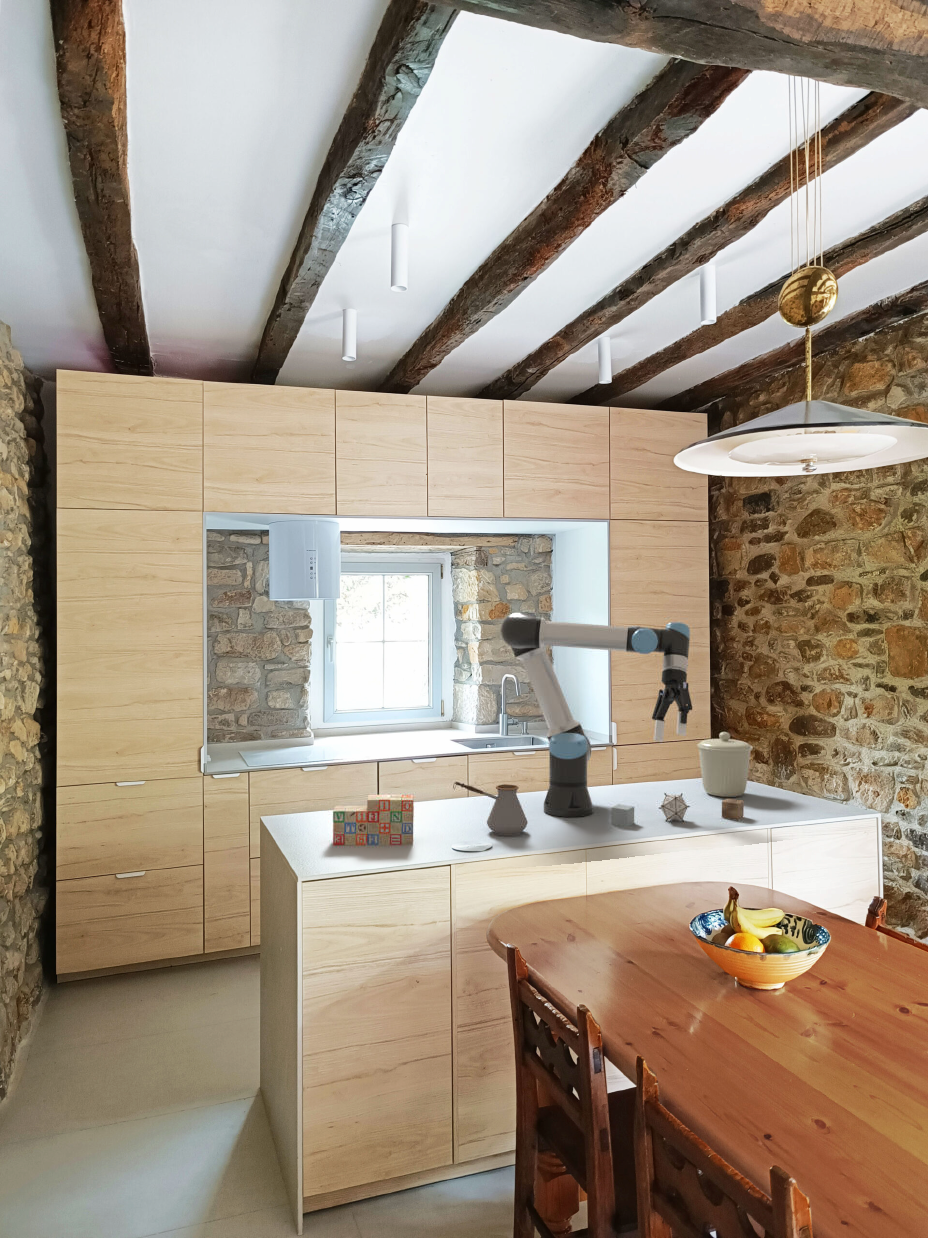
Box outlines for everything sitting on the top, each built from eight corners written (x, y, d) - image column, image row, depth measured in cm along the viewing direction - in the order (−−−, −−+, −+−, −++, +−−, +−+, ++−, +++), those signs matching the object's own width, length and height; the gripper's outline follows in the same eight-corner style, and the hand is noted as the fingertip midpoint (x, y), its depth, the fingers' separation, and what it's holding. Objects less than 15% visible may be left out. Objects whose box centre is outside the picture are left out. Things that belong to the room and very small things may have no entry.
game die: (677, 832, 251) (693, 803, 253) (681, 828, 243) (698, 799, 245) (650, 815, 253) (667, 787, 256) (654, 811, 245) (670, 782, 248)
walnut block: (721, 818, 253) (721, 801, 253) (726, 814, 257) (727, 798, 257) (738, 820, 250) (738, 803, 250) (743, 817, 254) (743, 800, 254)
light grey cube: (611, 824, 245) (611, 807, 245) (618, 821, 249) (618, 804, 249) (627, 827, 242) (627, 810, 242) (634, 823, 246) (634, 806, 246)
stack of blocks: (332, 846, 223) (332, 799, 223) (335, 839, 229) (335, 794, 229) (413, 845, 224) (413, 799, 224) (413, 839, 230) (413, 794, 230)
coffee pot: (520, 826, 243) (520, 774, 243) (533, 836, 232) (533, 782, 232) (448, 830, 238) (448, 777, 238) (458, 841, 227) (458, 786, 227)
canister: (763, 798, 278) (763, 735, 278) (714, 801, 274) (714, 737, 274) (733, 787, 296) (734, 727, 296) (686, 790, 292) (687, 729, 291)
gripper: (707, 665, 252) (702, 734, 245) (665, 682, 275) (660, 746, 268) (684, 659, 250) (679, 729, 243) (644, 677, 273) (639, 741, 266)
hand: (669, 738), depth 256 cm, fingers open, 13 cm apart
